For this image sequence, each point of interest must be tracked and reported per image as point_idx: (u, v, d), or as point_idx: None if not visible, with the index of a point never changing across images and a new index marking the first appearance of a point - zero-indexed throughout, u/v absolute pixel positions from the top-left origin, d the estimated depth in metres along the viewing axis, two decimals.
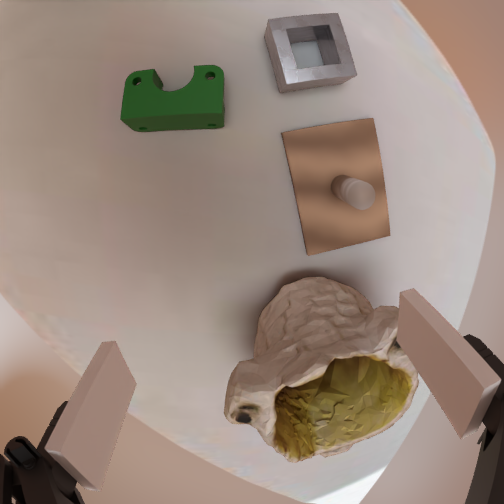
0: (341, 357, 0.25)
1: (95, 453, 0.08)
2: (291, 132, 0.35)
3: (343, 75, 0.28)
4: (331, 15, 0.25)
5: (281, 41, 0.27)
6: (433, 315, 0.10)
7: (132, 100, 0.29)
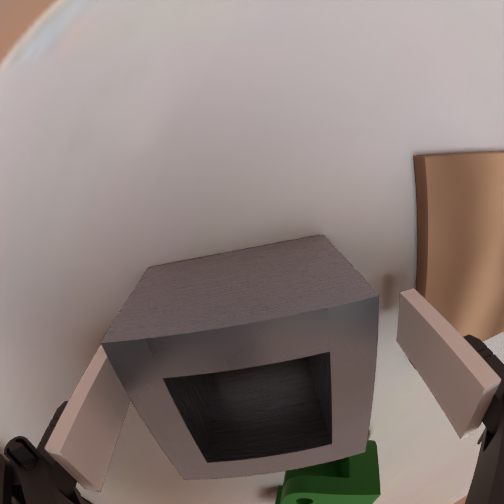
0: None
1: (95, 453, 0.08)
2: None
3: (373, 342, 0.08)
4: (119, 365, 0.08)
5: (247, 468, 0.10)
6: (433, 315, 0.10)
7: None
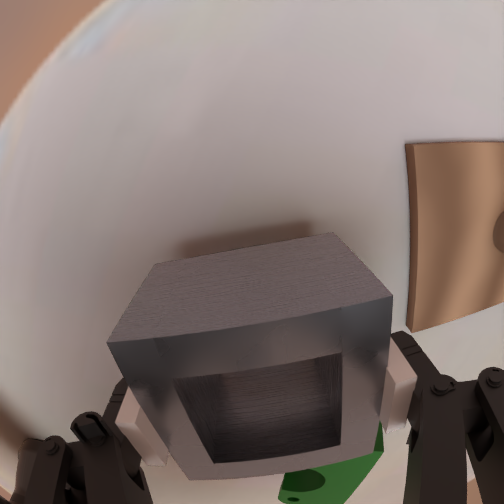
0: None
1: None
2: (416, 319, 0.18)
3: (386, 343, 0.08)
4: (126, 365, 0.08)
5: (254, 469, 0.10)
6: None
7: (319, 503, 0.20)
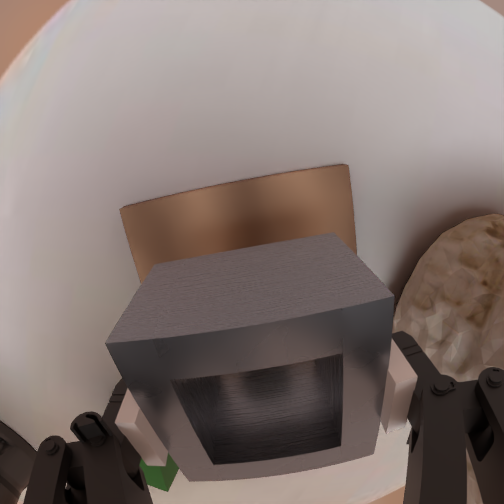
0: None
1: None
2: None
3: (387, 344, 0.08)
4: (125, 366, 0.08)
5: (254, 471, 0.10)
6: None
7: (148, 481, 0.25)
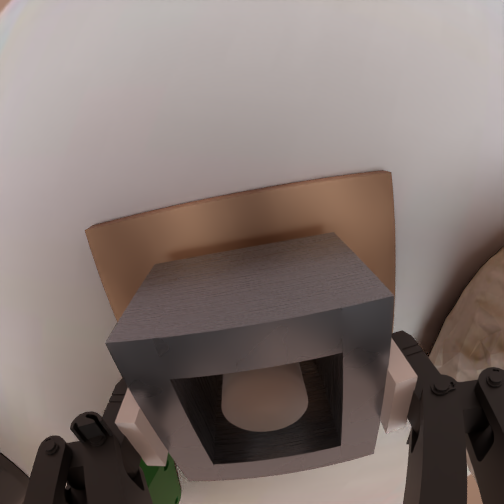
0: None
1: None
2: None
3: (387, 343, 0.08)
4: (125, 366, 0.08)
5: (254, 470, 0.10)
6: None
7: None
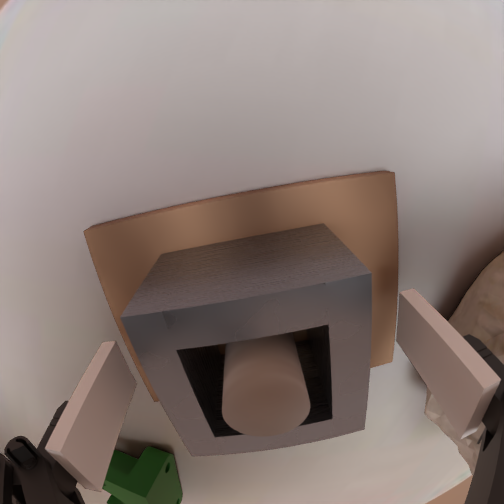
0: None
1: (95, 453, 0.08)
2: (151, 390, 0.18)
3: (368, 317, 0.09)
4: (136, 338, 0.09)
5: (253, 443, 0.12)
6: (433, 315, 0.10)
7: None
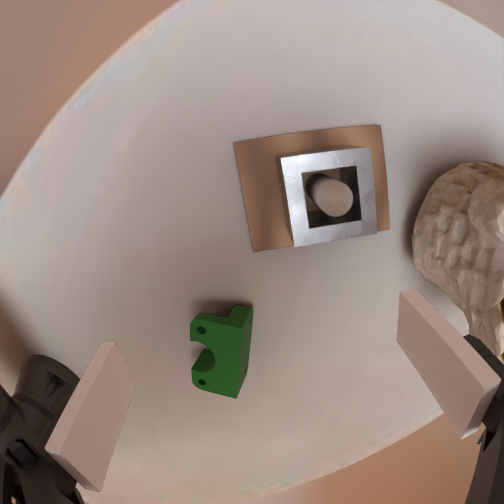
0: (502, 298, 0.17)
1: (95, 453, 0.08)
2: (253, 242, 0.34)
3: (370, 165, 0.25)
4: (285, 167, 0.25)
5: (326, 234, 0.27)
6: (433, 315, 0.10)
7: (220, 388, 0.36)
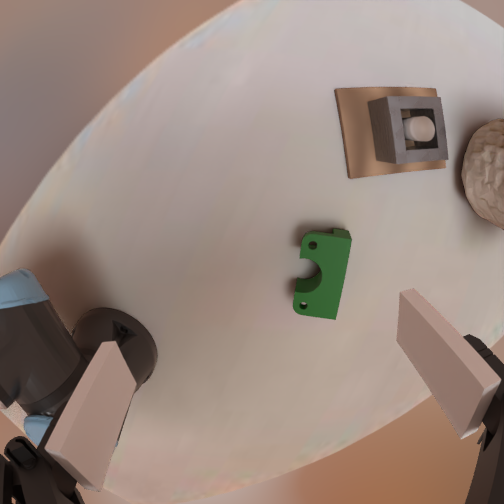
0: None
1: (95, 453, 0.08)
2: (351, 170, 0.38)
3: (441, 109, 0.29)
4: (390, 103, 0.29)
5: (417, 156, 0.31)
6: (433, 315, 0.10)
7: (321, 309, 0.39)
